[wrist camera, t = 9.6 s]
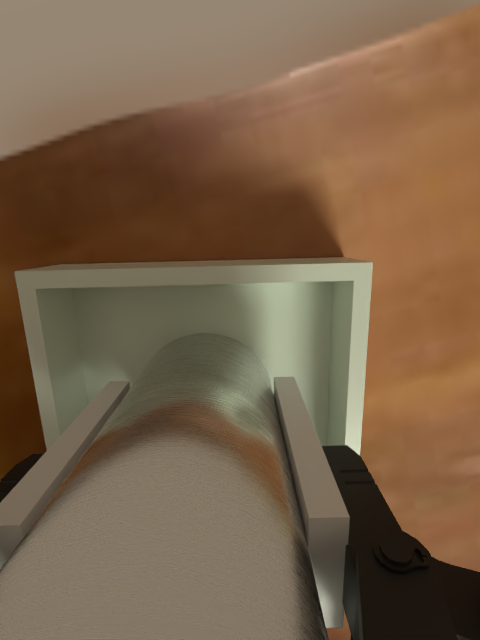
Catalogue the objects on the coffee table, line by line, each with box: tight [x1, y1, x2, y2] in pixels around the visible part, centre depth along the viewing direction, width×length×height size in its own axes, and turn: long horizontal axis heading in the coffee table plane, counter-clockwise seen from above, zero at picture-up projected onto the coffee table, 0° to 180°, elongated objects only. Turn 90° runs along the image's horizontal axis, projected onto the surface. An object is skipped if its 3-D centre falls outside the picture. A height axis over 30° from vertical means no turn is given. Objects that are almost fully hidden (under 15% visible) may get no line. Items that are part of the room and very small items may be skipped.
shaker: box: [0, 333, 328, 640], centre depth 8 cm, size 6×6×12 cm
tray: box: [14, 257, 373, 455], centre depth 14 cm, size 12×11×3 cm
